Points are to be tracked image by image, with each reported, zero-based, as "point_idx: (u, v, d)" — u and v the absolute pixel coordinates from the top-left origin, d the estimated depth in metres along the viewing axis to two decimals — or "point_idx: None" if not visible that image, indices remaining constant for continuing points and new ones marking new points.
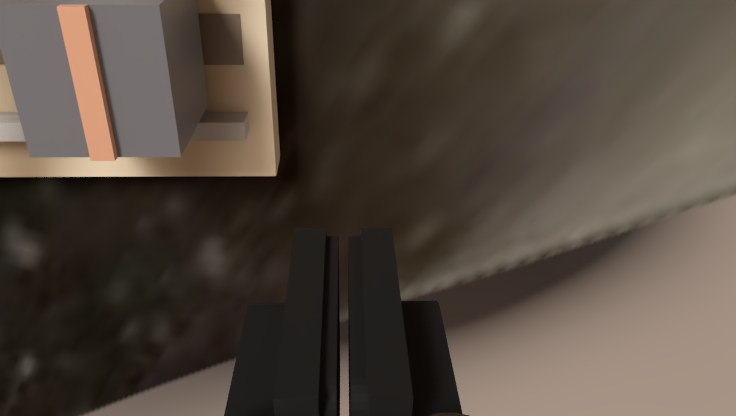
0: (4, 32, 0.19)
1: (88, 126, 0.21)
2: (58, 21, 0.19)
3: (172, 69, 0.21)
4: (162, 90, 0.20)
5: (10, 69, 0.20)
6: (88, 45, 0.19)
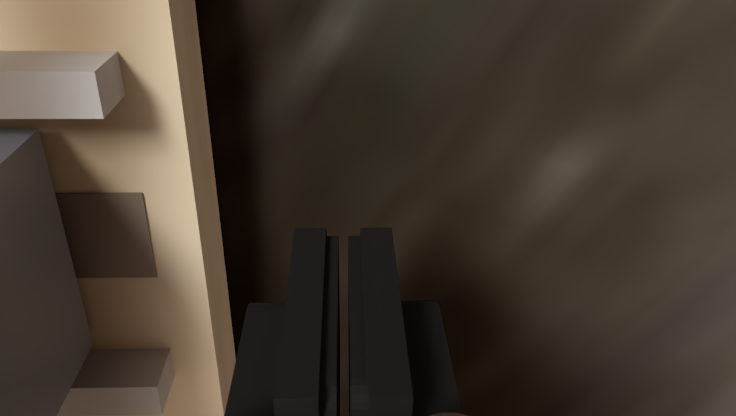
0: None
1: None
2: None
3: None
4: None
5: None
6: None
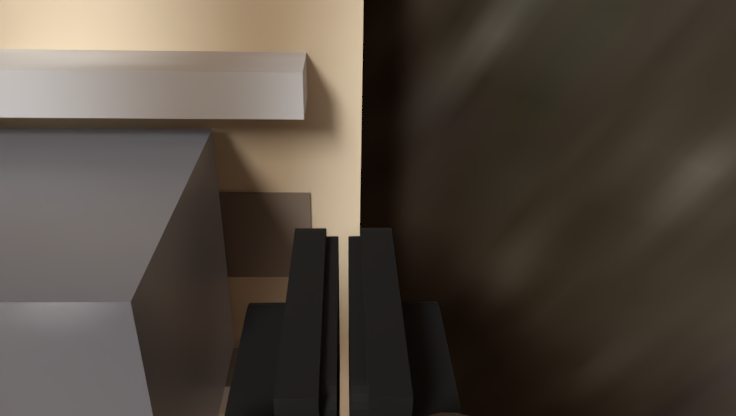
0: None
1: None
2: None
3: (167, 407, 0.09)
4: None
5: None
6: None
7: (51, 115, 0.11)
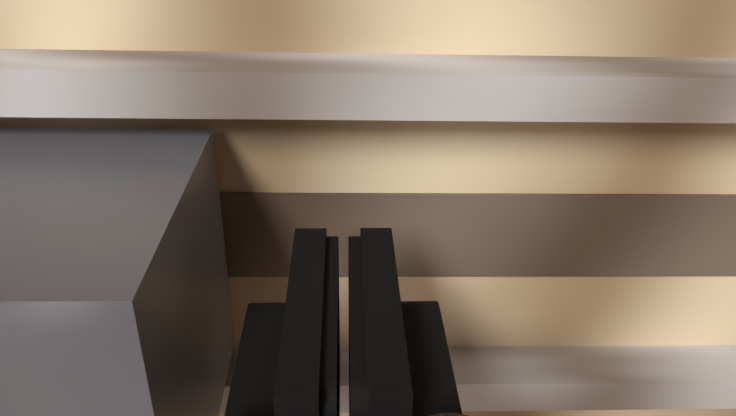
0: None
1: None
2: None
3: (167, 406, 0.09)
4: None
5: None
6: None
7: None
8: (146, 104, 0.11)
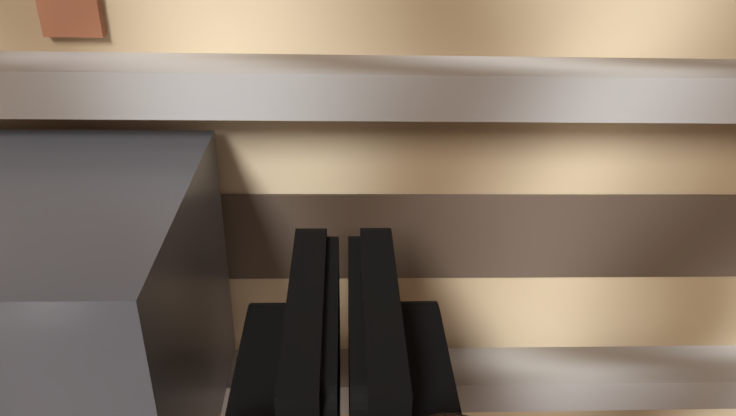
0: None
1: None
2: None
3: (171, 406, 0.09)
4: None
5: None
6: None
7: None
8: (724, 110, 0.11)
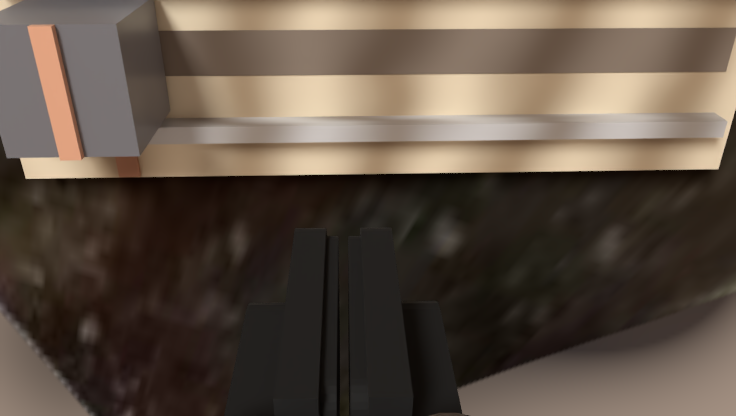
0: None
1: (57, 130, 0.24)
2: (29, 39, 0.22)
3: (130, 79, 0.24)
4: (121, 98, 0.24)
5: None
6: (55, 59, 0.23)
7: None
8: None
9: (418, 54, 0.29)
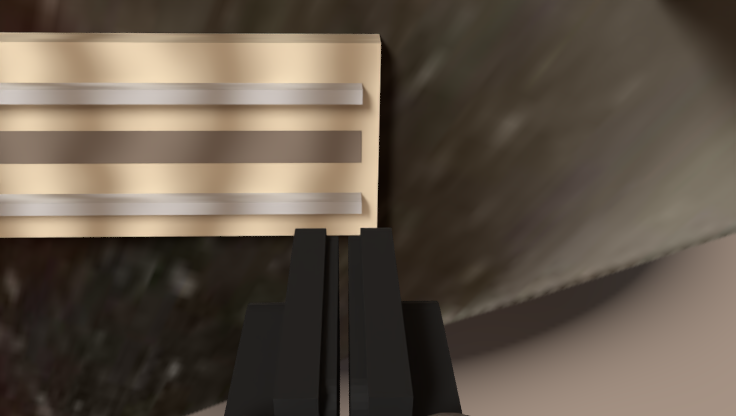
0: None
1: None
2: None
3: None
4: None
5: None
6: None
7: (285, 103, 0.35)
8: (43, 100, 0.34)
9: (112, 149, 0.37)
